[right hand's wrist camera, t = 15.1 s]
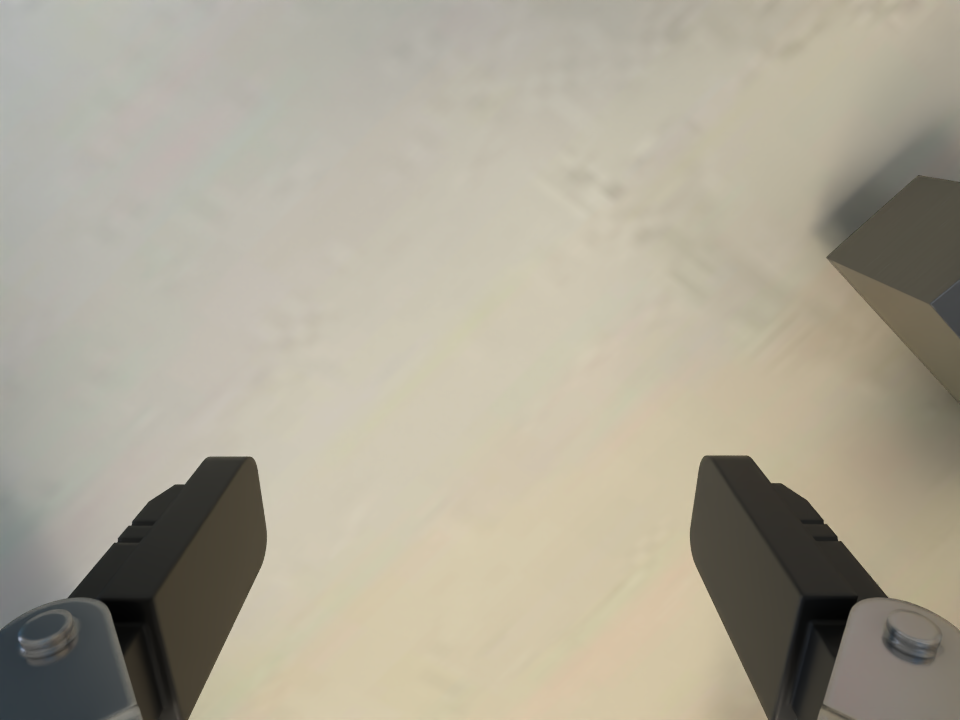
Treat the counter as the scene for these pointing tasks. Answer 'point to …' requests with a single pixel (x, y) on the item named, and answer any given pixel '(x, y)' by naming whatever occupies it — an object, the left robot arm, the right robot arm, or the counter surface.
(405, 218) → the counter surface
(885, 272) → the box
